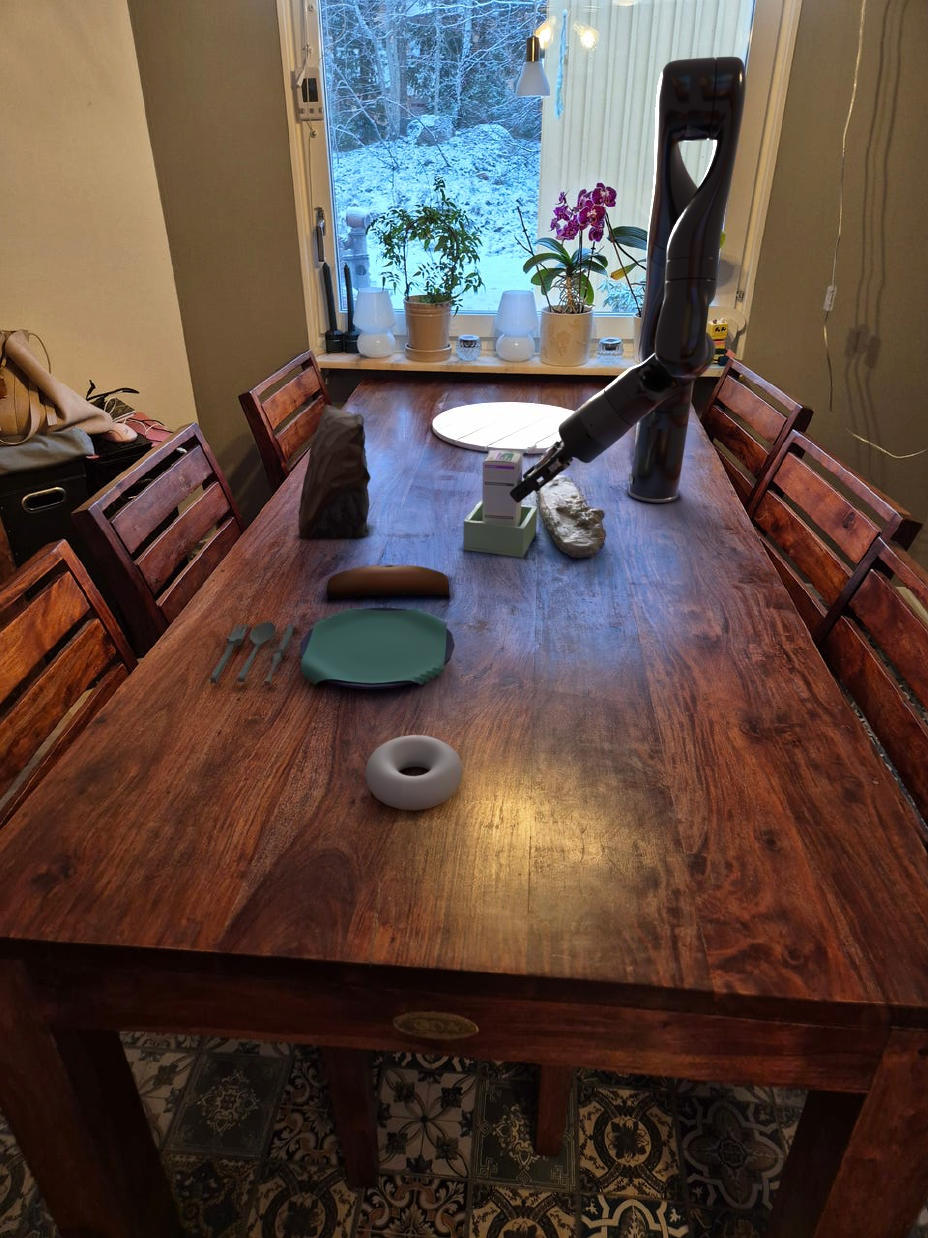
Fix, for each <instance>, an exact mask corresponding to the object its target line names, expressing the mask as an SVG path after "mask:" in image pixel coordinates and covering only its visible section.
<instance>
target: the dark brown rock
mask: <svg viewBox="0 0 928 1238" xmlns="http://www.w3.org/2000/svg"><path fill="white" fill-rule="evenodd" d="M318 421H319V422H318V425H317V428H316V431H315V433H314V436H313V439H312V442H311V445H310V449H309V455H308V456H309V457H308V462H307V466H306V472H305V475H304V478H303V483H302V489H301V494H300V504H299V508H298V520H297V521H298V522H297V523H298V525H297V528H298V532H299V533H298V539H361V538H365V537H368V536H369V533H370V527H369V526H368V523H367V522H368V516H369V511H370V497H369V495H370V494H369V489H368V485H369V482H370V481H371V477H372V476H371V474H370V472H369V470H368V462H367V455H366V453H367V452H366V446H365V444H366V433H365V427H364V424H365V417H364V416H363V415H362V414H361V413H353V412H349V411H343V410H340V409H338V407H335V406H334V405H328V404H325V405H324V407H323V411H322V413H321V416H320V418H319V420H318Z"/></svg>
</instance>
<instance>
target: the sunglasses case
mask: <svg viewBox="0 0 928 1238" xmlns="http://www.w3.org/2000/svg"><path fill="white" fill-rule="evenodd" d="M450 593H451V592H450V582H449V577H448V576H447V575H446V574H445V573H443V572H441V571H439V570H436V569H432V568H429V567H425V566H422V565H421V566H420V565H415V564H385V565H383V564H378V565H377V564H375V565H363V566H357V567H352V568H349V569H345V570H343V571H340V572H338V573H334V574H333V575H331V576H330V577H329V578H328V580H327V582H326V599H327V600H329V599H338V598H341V599H343V598H355V597H358V596H359V597H364V596H365V597H366V596H373V595H374V596H401V595H405V596H447V597H449V598H451V595H450Z"/></svg>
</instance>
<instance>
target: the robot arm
mask: <svg viewBox="0 0 928 1238" xmlns="http://www.w3.org/2000/svg"><path fill="white" fill-rule="evenodd" d="M746 91H747V75H746V67H745V64H744V61H743V59H742V58H740V57H738V56H716V57H715V56H714V57H713V56H712V57H698V58H697V57H696V58H695V57H694V58H683V59H676V60H672V61H670V62H667V63H666V64H665V65H664V67H663V69H662V71H661V73H660V77H659V80H658V85H657V92H656V93H657V94H656V102H655V103H656V104H655V105H656V107H655V131H654V132H655V135H654V136H655V137H654V169H653V170H654V171H653V173H654V175H653V188H652V198H651V205H650V215H649V221H648V229H647V230H648V231H647V244H646V266H645V285H644V286H645V287H644V294H643V302H642V308H641V309H642V310H641V316H640V323H639V329H638V336H637V348H636V349H637V351H636V352H637V358H638V361H639V364H638V365H634V366H631V367H629V368H628V369H626V370H625V371H624V372H622V373H621V374H620V375H619V376H617V377H616V378H615V379H614V380H613V381H612V382H610V383H609V384H608V385H607V386H605V388H603V389H602V390H601V391H599V392H597V393H596V394H594V395H593V396H592V397H590V398H589V399H588V400H587V401H586V402H584V403H583V404H582V405H581V406H580V407H579V408H577V409H576V410H574V411H575V412H574V413H573V414H572V415H570V416H569V417H568V418H567V419H566V420H565V421H563V422H562V423H561V424H560V425H559V428H558V431H559V435H560V438H561V440H560V441H559V442H558V441H556V442H555V443H554V444H553V445H552V446H551V447H550V448H549V449H548V450H547V451H546V452H544V453H542V456H540V457H539V459H538V461H536V463H535V464H533V465H532V466H531V467H529V468H528V469H527V470H526V471H525V472H524V473H522V482H521V483H520V484H518V485H517V486H516V487H515V488H514V489H512V490H511V492H510V496H511V497H512V498H513V499H514V500H515V501H516V502H517V503H519V502H520V501H523V500H524V499H525V498H527V497H528V496H530V495H531V493H532V492H533V493H534V492H535V493H536V492H537V491H539V490H540V489H541V488H542V487H543V486H544V485H545V484H547V483H548V482H549V481H551V480H553V479H554V478H555V477H556V476H557V475H560V473H563V472H564V471H566V470H567V469H568V468H569V467H570V466H571V463H572V462H573V461H574V458H575V459H577V460H578V461H579V462H581V463H584V464H590V463H592V462H593V461H594V460H595V459H596V458H598V457H599V456H600V455H602V454H603V453H604V452H605V451H606V450H608V449H609V448H610V447H612V446H613V445H614V444H616V442H618V441H619V440H620V439H621V438H622V437H623V436H625V435H626V434H627V433H628V432H629V431H630V430H631V429H632V427H634V426H635V425H636V430H635V436H634V443H633V451H632V463H631V470H630V471H631V473H630V472H628V481H629V487H628V495H629V496H630V497H631V498H633V499H635V500H638V501H641V502H645V503H655V504H665V503H670V502H673V501H676V500H677V499H678V497H679V487H680V481H681V474H682V468H683V461H684V454H685V448H686V441H687V433H688V427H689V419H690V412H691V406H692V399H693V389H694V382H695V381H696V380H697V379H699V378H700V377H701V376H702V375H704V374H705V373H706V372H707V370H709V368H710V367H711V365H712V364H713V362H714V359H715V356H716V344H715V341H714V338H713V337H712V336H711V335H710V334H709V333H708V332H707V327H708V318H709V309H710V305H711V304H712V303H713V302H714V300H715V297H716V294H717V293H716V292H717V287H718V275H719V266H720V265H719V263H720V250H721V242H722V241H721V240H722V234H723V233H722V232H723V228H724V227H723V226H724V220H725V215H726V209H727V205H728V200H729V195H730V190H731V186H732V181H733V175H734V169H735V164H736V163H735V162H736V158H737V153H738V152H737V151H738V146H739V139H740V135H741V130H742V129H741V128H742V122H743V116H744V109H745V101H746ZM700 141H703V142H704V141H713V149H712V155H711V158H710V162H709V164H708V167H707V170H706V172H705V174H704V177H703V178H702V180H701V182H700V183H699V186H697V185H696V183H695V182H694V179H692V177H691V175H690V173H689V171H688V169H687V167H686V165H685V162H684V159H683V157H682V152H681V149H680V148H681V147H680V143H683V142H700ZM539 479H540V480H541V479H542V480H541V481H540V480H539ZM538 480H539V481H540V482H539V481H538Z"/></svg>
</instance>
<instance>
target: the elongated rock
mask: <svg viewBox="0 0 928 1238" xmlns="http://www.w3.org/2000/svg"><path fill="white" fill-rule="evenodd" d="M542 479H543V478H540V480H539V481H538V482H540V481H541V480H542ZM535 494H536V499H535V502H536V504H537V505H538V506H539V508H540V509H539V510H540V511H539V512H540V517H541V518H542V519H543V520H544V529H545V530H546V531H547V532H548V534H549V535H550V536H551V538H552V540H553V541H554V544H555V546H556V547H557V548H559V549H560V551H561V552H563V553H564V554H566V555H568V556H570V557H571V558H588V557H593V556H597V555H598V553H599V552H598V551H599V549H601V550H602V549H603V548H604V547H605V543H606V542H605V541H606V538H607V531H606V529H605V528H604V525H603V519H604V518H605V517H606V513H605V511H604V510H603V509H601V508H597V507H591V506H589V505H588V502H587V499H586V497H585V495H584V494H583V492H582V491H581V489H580V487H579V486H577V485H576V484H575V483H574V480H573V478H572V477H570V478H569V476H566V475H562V474H558V475H557V476H556V477H555V478H554V479H553V480H551V481H549V482H548V483H547V484H545V485H544V486H543V487H542V488H541V489H540V490H539V491H537V492H535Z"/></svg>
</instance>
